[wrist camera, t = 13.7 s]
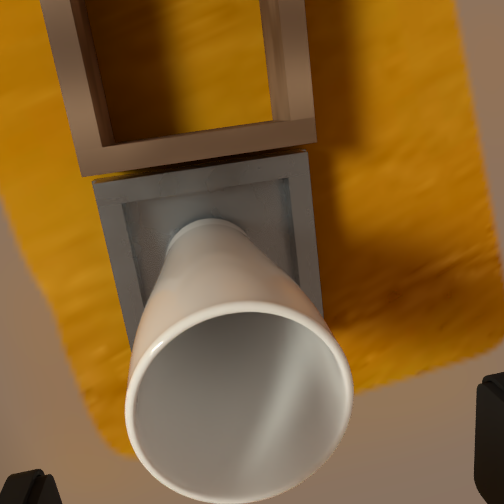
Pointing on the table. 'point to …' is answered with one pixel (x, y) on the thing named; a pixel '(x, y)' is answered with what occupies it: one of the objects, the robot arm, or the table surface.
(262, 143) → the frame
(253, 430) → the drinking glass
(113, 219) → the metal cradle
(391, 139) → the table surface
